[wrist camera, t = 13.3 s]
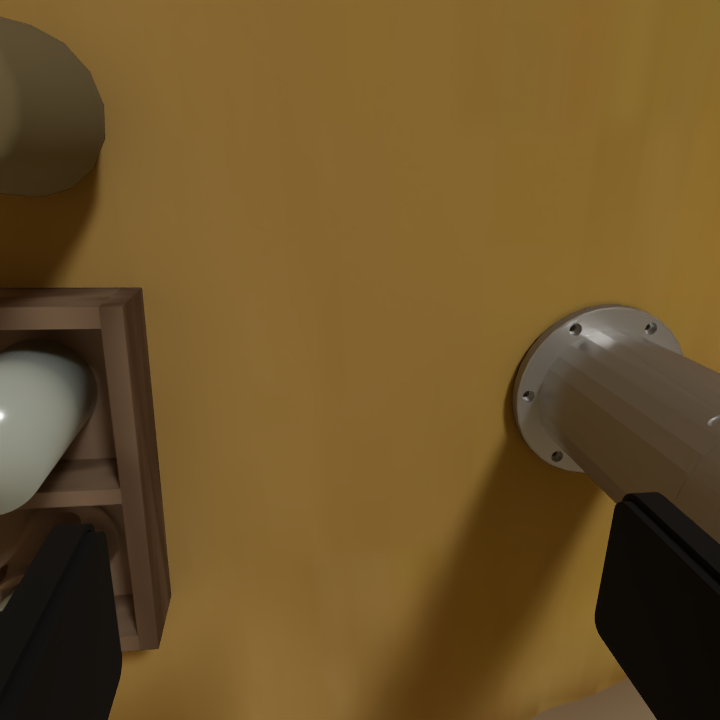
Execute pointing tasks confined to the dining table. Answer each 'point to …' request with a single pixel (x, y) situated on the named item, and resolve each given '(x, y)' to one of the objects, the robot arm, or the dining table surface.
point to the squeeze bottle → (45, 113)
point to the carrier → (103, 442)
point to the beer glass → (36, 531)
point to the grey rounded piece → (39, 413)
